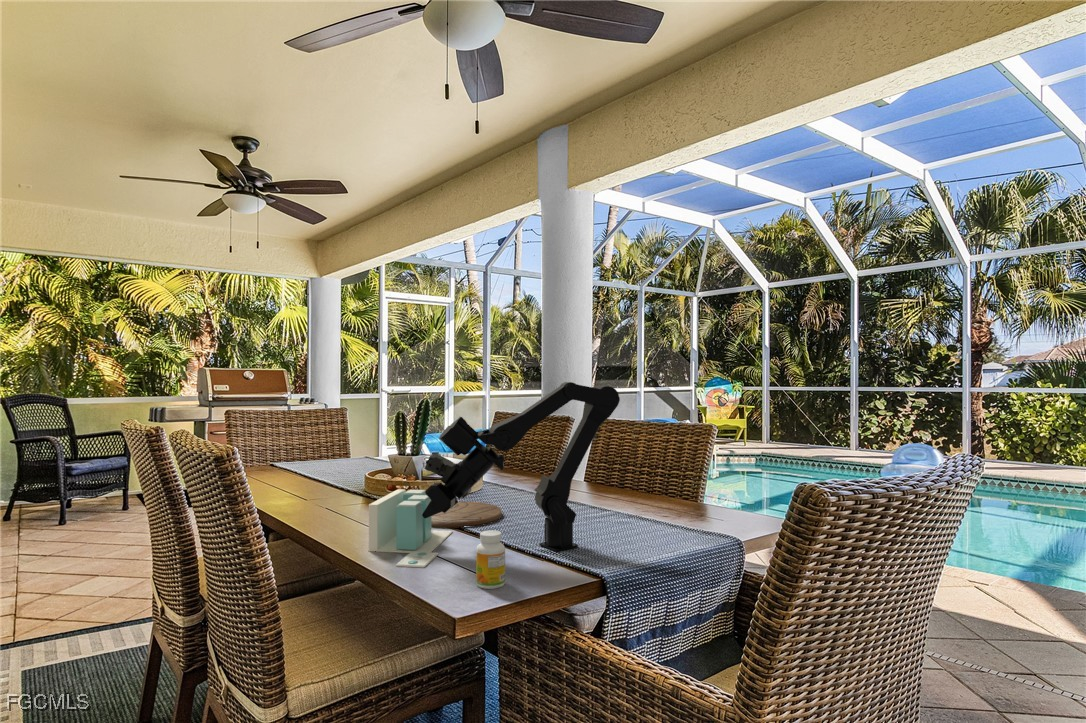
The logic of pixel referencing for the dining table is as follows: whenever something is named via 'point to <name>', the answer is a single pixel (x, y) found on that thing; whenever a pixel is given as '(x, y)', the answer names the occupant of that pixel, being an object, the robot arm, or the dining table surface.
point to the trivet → (466, 515)
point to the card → (417, 559)
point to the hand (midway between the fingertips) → (423, 516)
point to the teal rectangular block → (413, 492)
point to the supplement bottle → (490, 560)
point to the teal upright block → (426, 521)
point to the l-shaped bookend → (394, 526)
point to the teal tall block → (409, 525)
